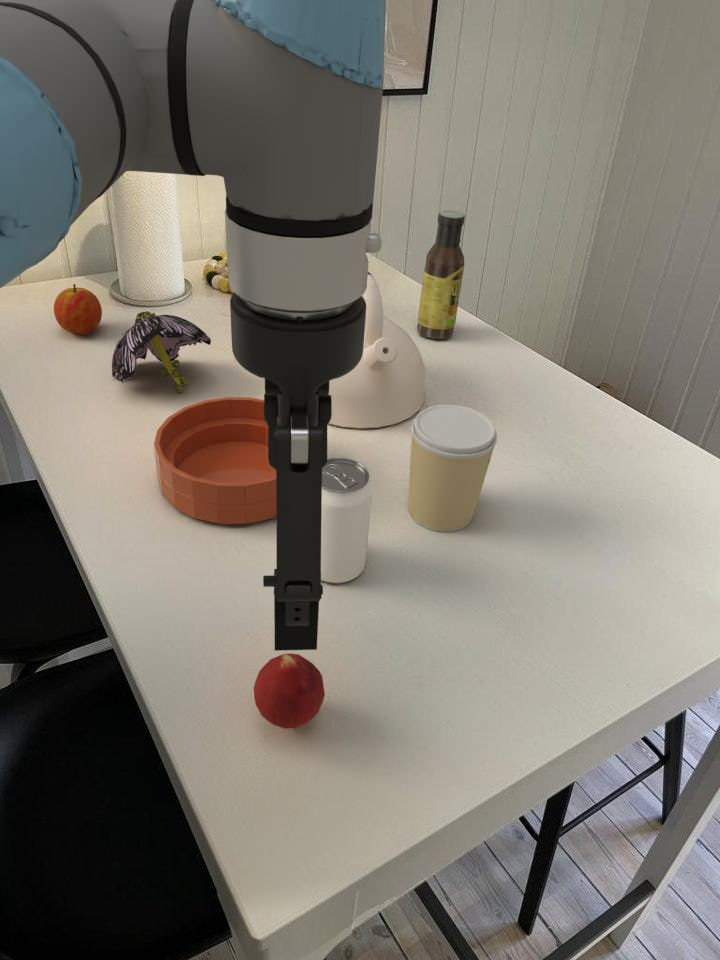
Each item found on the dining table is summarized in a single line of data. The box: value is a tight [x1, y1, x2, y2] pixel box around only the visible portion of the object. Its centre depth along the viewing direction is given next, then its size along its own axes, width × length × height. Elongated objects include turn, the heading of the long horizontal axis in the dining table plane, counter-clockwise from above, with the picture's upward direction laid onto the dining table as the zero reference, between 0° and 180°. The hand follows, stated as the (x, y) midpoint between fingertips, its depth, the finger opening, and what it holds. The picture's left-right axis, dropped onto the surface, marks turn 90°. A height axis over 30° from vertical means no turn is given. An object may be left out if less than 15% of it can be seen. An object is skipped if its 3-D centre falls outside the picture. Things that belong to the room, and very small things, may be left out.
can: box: [321, 457, 373, 585], centre depth 77 cm, size 6×6×12 cm
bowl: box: [153, 396, 278, 525], centre depth 89 cm, size 18×18×6 cm
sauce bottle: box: [416, 209, 466, 340], centre depth 121 cm, size 6×6×20 cm
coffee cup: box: [407, 404, 498, 533], centre depth 85 cm, size 9×9×12 cm
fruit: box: [53, 283, 103, 336], centre depth 116 cm, size 7×7×8 cm
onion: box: [253, 653, 326, 730], centre depth 62 cm, size 6×6×8 cm
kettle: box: [328, 271, 426, 430], centre depth 104 cm, size 20×21×18 cm
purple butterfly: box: [111, 311, 212, 394], centre depth 105 cm, size 14×12×15 cm
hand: (294, 572), depth 54 cm, fingers open, 13 cm apart
